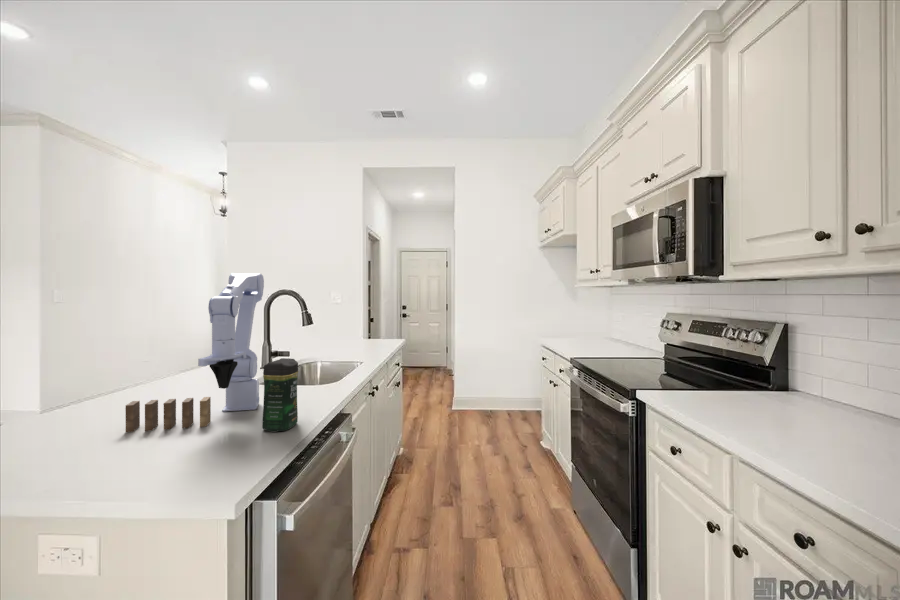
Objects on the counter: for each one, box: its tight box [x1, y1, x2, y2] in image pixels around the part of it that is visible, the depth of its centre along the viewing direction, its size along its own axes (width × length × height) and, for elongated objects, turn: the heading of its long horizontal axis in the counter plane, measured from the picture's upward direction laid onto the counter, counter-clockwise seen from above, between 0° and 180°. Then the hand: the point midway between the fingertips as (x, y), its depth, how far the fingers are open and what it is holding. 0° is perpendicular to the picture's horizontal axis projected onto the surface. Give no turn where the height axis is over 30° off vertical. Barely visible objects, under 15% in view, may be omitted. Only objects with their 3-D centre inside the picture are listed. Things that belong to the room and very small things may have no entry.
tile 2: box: [181, 397, 194, 429], centre depth 116 cm, size 2×4×7 cm, turn 18°
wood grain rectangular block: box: [125, 400, 141, 433], centre depth 112 cm, size 2×4×7 cm, turn 18°
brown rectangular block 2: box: [163, 398, 177, 430], centre depth 115 cm, size 2×4×7 cm, turn 18°
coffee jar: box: [261, 357, 299, 433], centre depth 115 cm, size 10×8×19 cm
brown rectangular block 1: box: [144, 399, 159, 432], centre depth 113 cm, size 2×4×7 cm, turn 18°
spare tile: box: [199, 396, 212, 428], centre depth 117 cm, size 2×4×7 cm, turn 17°
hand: (223, 387), depth 118 cm, fingers closed
